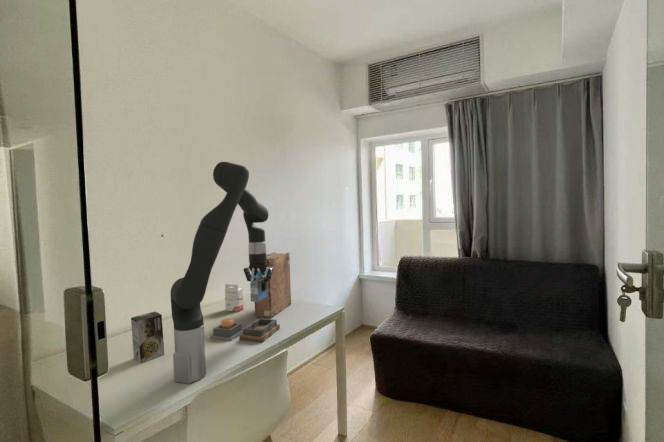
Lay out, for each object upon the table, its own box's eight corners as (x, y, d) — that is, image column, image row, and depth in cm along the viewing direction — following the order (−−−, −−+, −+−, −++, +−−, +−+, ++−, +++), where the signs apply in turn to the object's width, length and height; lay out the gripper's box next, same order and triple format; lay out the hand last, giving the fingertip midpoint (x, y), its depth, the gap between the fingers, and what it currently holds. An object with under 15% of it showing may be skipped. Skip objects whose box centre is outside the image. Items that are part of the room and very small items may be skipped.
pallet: (262, 342, 145) (262, 331, 144) (239, 339, 148) (239, 329, 148) (279, 328, 160) (279, 319, 160) (258, 326, 163) (258, 317, 163)
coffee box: (157, 350, 139) (155, 311, 138) (164, 354, 135) (162, 313, 134) (132, 358, 132) (130, 317, 131) (140, 363, 128) (137, 320, 127)
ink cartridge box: (244, 309, 192) (242, 282, 192) (239, 311, 188) (238, 284, 187) (230, 308, 195) (229, 282, 194) (225, 310, 190) (224, 284, 189)
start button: (229, 330, 151) (229, 322, 151) (219, 329, 152) (218, 321, 152) (236, 326, 156) (235, 318, 156) (226, 325, 157) (225, 318, 157)
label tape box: (260, 296, 158) (259, 269, 157) (268, 296, 157) (267, 269, 156) (250, 301, 149) (249, 273, 149) (258, 302, 148) (257, 273, 148)
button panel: (231, 340, 147) (231, 331, 147) (209, 338, 151) (209, 329, 151) (245, 331, 158) (245, 322, 158) (224, 329, 161) (224, 320, 161)
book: (276, 303, 202) (274, 252, 200) (291, 304, 199) (289, 252, 198) (254, 317, 178) (252, 259, 176) (271, 318, 175) (269, 259, 173)
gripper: (276, 251, 153) (277, 289, 154) (247, 250, 158) (249, 288, 159) (267, 253, 146) (269, 293, 147) (238, 253, 151) (240, 292, 151)
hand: (259, 290), depth 153 cm, fingers closed on label tape box, 4 cm apart
